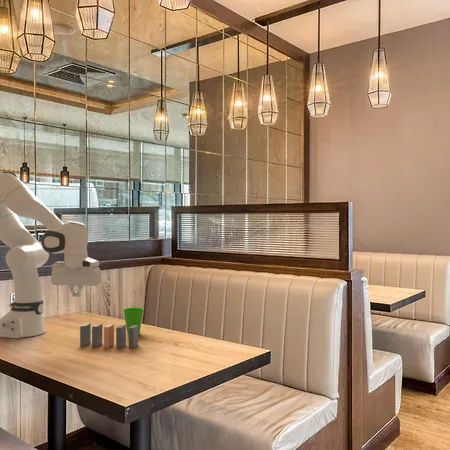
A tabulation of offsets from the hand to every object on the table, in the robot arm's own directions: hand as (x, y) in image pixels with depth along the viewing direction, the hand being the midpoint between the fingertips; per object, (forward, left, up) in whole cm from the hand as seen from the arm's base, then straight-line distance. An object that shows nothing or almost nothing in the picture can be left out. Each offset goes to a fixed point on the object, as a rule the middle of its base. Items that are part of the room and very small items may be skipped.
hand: (76, 296), depth 182 cm
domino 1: (+4, 0, -19) cm, 20 cm away
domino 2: (+9, 0, -19) cm, 21 cm away
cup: (+17, +19, -19) cm, 32 cm away
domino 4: (+19, 0, -19) cm, 27 cm away
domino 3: (+14, 0, -19) cm, 24 cm away
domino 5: (+24, 0, -19) cm, 31 cm away
